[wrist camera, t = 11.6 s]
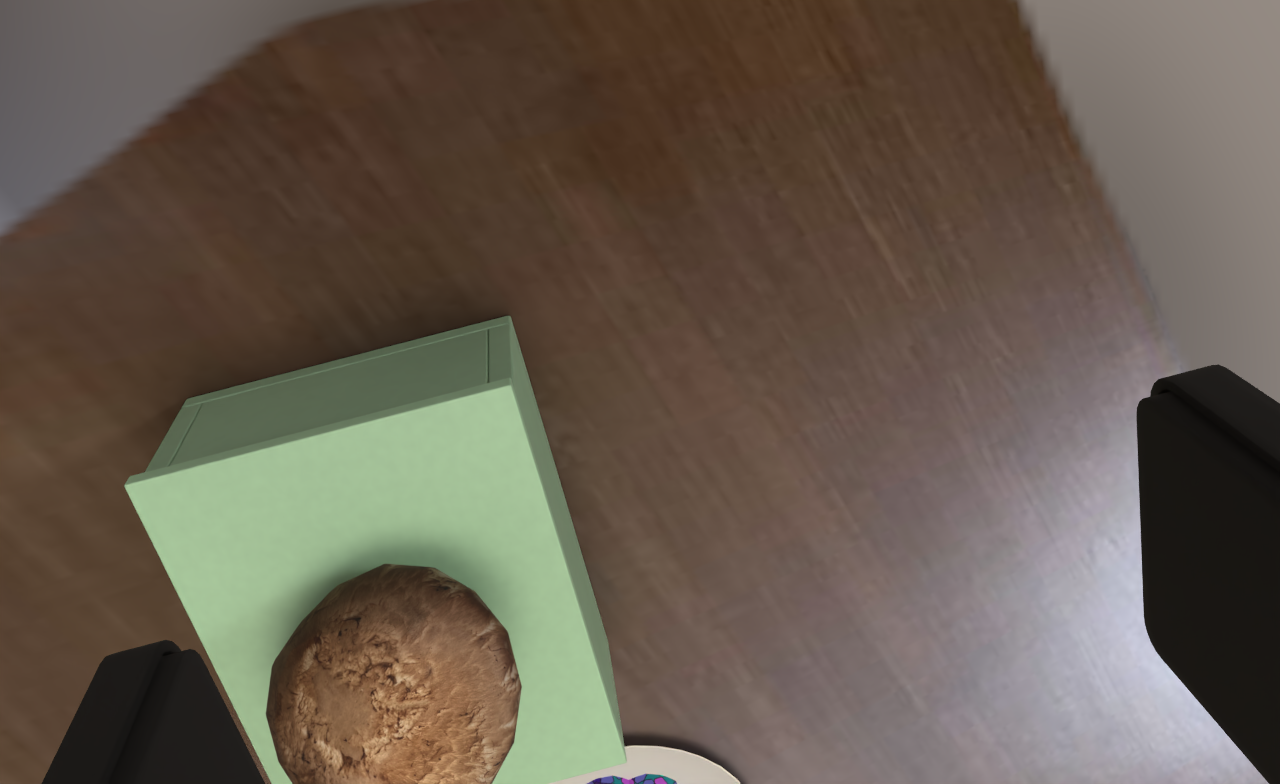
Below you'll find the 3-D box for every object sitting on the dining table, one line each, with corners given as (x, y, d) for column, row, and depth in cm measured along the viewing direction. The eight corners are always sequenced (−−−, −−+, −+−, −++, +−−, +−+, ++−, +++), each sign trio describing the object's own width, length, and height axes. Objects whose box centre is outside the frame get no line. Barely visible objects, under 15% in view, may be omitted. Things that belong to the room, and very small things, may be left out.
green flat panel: (129, 475, 33) (123, 485, 33) (510, 376, 34) (511, 384, 33) (305, 836, 40) (303, 849, 39) (625, 751, 40) (627, 763, 39)
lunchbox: (185, 398, 39) (134, 487, 34) (510, 313, 39) (514, 388, 34) (328, 715, 46) (306, 834, 40) (608, 641, 46) (625, 750, 40)
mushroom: (578, 797, 35) (482, 873, 30) (363, 795, 38) (236, 864, 32) (554, 542, 36) (455, 567, 30) (342, 558, 39) (214, 583, 33)
